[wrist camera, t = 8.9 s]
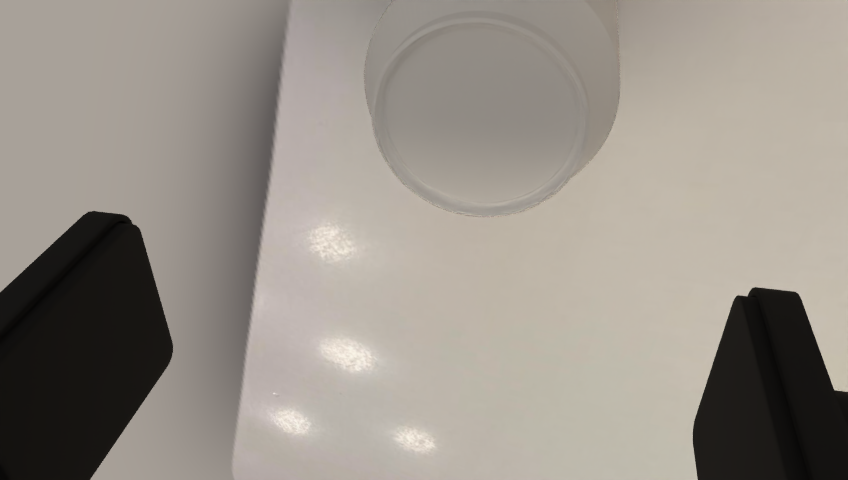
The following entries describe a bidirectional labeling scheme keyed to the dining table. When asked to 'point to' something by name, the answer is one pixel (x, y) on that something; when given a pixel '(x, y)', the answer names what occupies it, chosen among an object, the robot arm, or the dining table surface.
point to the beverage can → (492, 97)
